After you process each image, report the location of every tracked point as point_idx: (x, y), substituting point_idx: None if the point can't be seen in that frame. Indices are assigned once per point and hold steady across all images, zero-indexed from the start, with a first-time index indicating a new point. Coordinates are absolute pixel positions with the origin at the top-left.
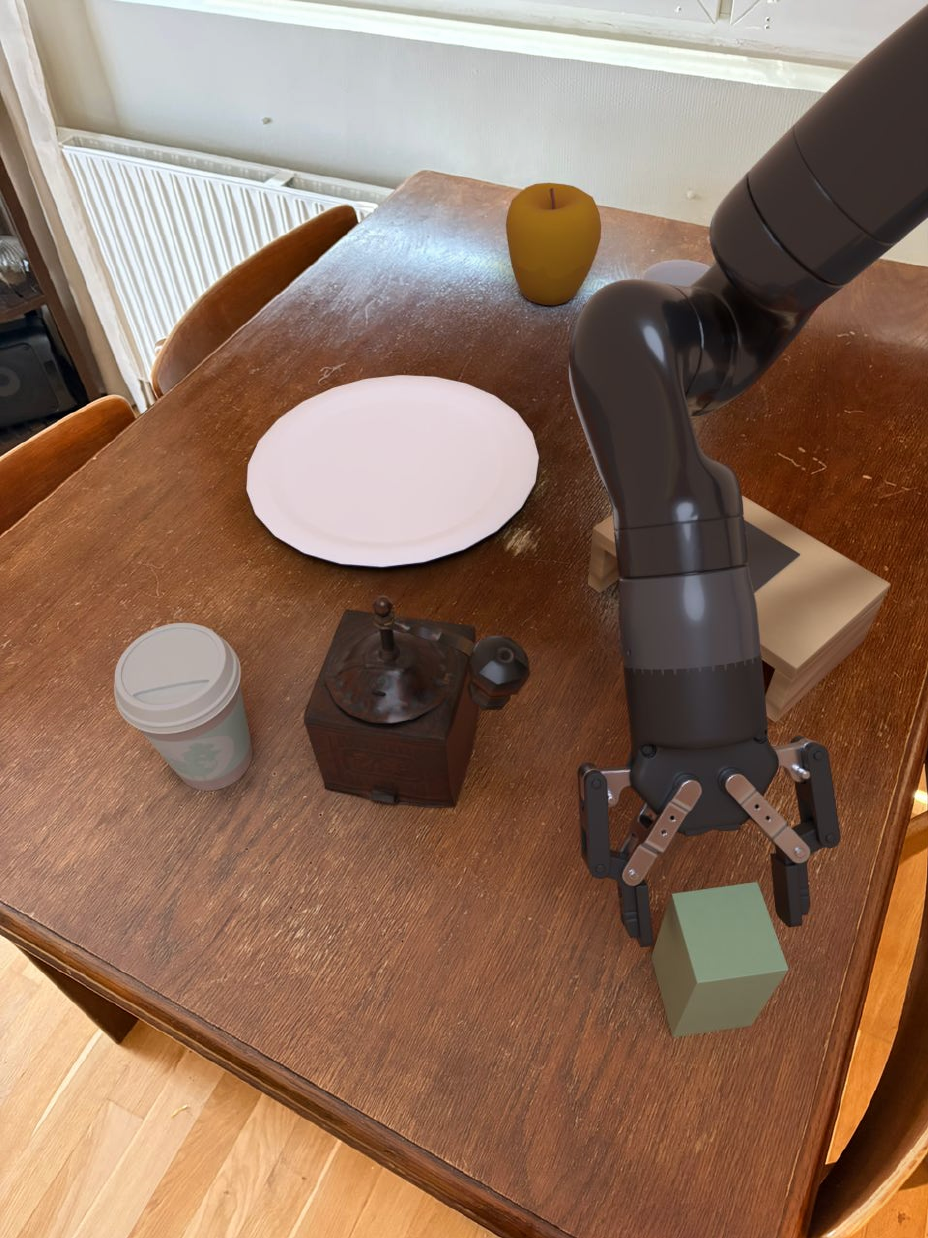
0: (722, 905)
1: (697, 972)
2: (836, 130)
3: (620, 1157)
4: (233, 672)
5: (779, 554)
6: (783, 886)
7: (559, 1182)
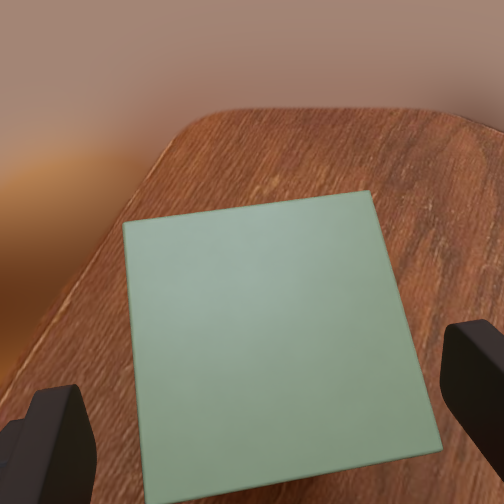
0: (280, 411)
1: (368, 213)
2: None
3: (372, 169)
4: None
5: None
6: (56, 497)
7: (444, 145)
